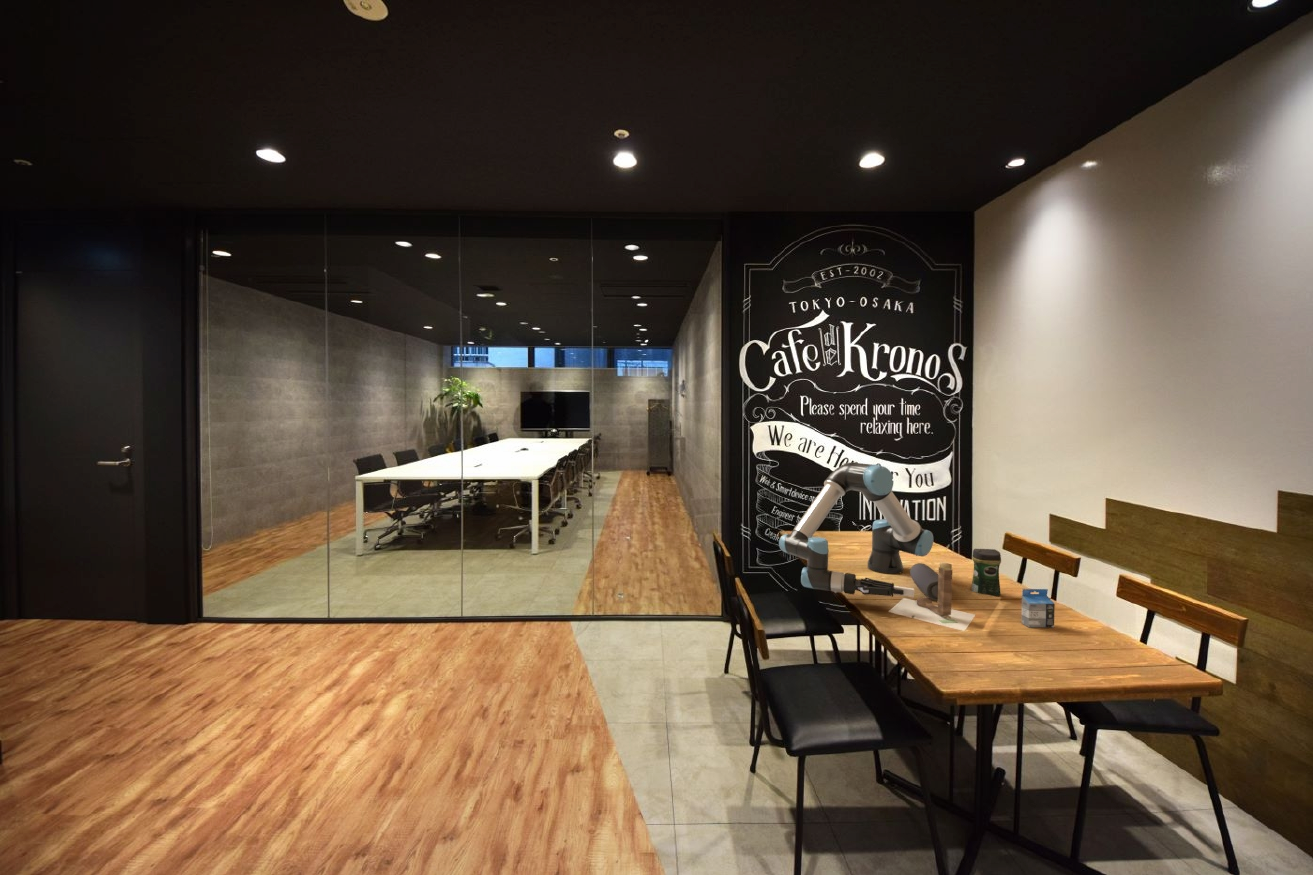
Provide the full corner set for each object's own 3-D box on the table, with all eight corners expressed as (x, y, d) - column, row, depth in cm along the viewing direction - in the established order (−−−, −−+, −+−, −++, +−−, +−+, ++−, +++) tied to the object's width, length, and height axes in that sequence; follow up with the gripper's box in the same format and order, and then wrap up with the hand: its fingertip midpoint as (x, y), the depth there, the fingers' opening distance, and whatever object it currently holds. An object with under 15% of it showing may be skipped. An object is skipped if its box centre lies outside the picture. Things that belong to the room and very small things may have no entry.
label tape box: (1028, 628, 175) (1030, 592, 174) (1020, 623, 179) (1021, 588, 179) (1054, 628, 175) (1056, 592, 174) (1045, 623, 179) (1047, 588, 178)
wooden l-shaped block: (913, 602, 193) (915, 553, 192) (926, 602, 194) (927, 552, 193) (942, 620, 177) (944, 567, 176) (956, 620, 177) (958, 566, 176)
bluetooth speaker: (951, 606, 194) (952, 580, 194) (924, 604, 196) (925, 578, 196) (931, 585, 217) (932, 562, 216) (908, 584, 218) (908, 561, 218)
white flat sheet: (888, 615, 185) (888, 611, 185) (903, 601, 199) (903, 597, 199) (964, 635, 169) (964, 630, 169) (975, 618, 183) (975, 614, 182)
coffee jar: (993, 591, 209) (995, 547, 208) (1003, 599, 202) (1005, 552, 200) (967, 590, 211) (969, 546, 210) (976, 597, 203) (978, 551, 202)
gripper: (845, 587, 199) (913, 597, 189) (841, 598, 188) (913, 609, 177) (846, 568, 199) (914, 577, 188) (842, 578, 187) (914, 588, 177)
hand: (913, 592), depth 183 cm, fingers closed
